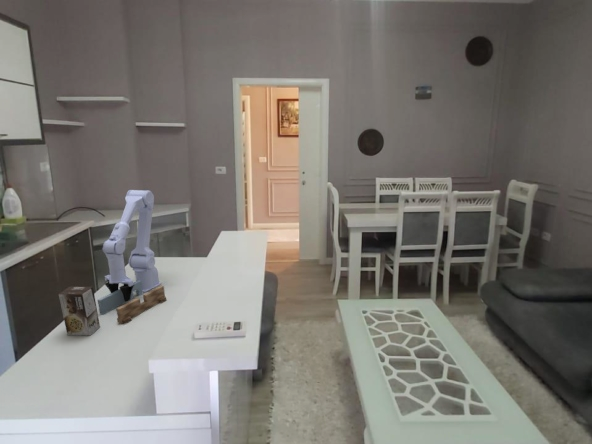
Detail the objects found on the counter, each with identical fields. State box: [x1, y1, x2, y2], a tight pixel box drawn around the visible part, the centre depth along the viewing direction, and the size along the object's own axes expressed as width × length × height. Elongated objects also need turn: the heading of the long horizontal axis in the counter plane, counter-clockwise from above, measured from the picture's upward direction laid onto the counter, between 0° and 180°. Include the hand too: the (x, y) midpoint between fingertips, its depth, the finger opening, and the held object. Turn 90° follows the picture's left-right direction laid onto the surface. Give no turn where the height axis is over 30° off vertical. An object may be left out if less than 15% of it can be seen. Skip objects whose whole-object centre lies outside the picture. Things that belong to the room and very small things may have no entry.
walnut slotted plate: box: [115, 285, 167, 325], centre depth 152 cm, size 22×4×6 cm, turn 153°
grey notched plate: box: [97, 280, 144, 315], centre depth 159 cm, size 20×2×6 cm, turn 153°
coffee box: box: [58, 285, 101, 336], centre depth 137 cm, size 9×6×16 cm
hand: (121, 298), depth 159 cm, fingers open, 6 cm apart
